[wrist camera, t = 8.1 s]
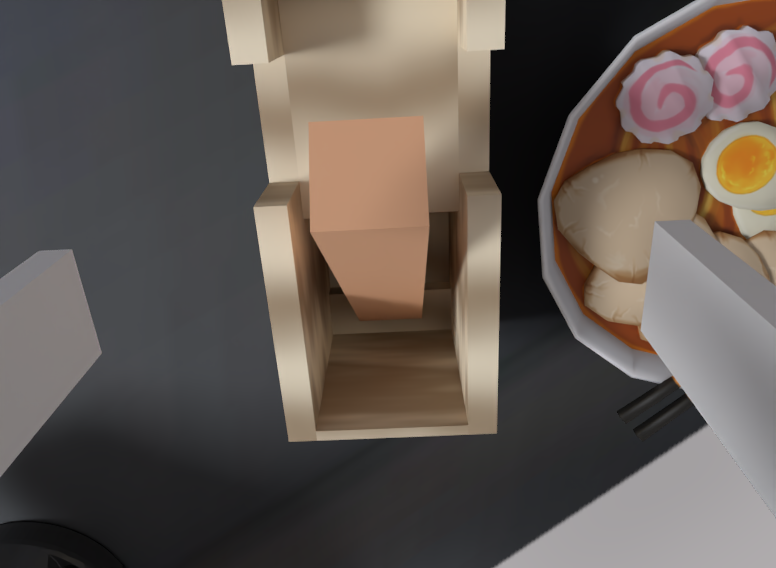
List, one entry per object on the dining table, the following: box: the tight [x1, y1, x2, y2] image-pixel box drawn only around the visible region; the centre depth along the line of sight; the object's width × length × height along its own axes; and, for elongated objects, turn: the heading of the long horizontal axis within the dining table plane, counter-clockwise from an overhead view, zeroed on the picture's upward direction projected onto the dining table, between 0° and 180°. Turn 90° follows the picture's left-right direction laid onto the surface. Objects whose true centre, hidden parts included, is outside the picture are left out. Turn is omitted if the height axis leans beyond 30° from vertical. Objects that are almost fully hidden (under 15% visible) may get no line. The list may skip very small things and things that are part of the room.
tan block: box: [308, 116, 429, 321], centre depth 31 cm, size 20×4×4 cm
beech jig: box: [222, 0, 506, 442], centre depth 34 cm, size 24×11×12 cm, turn 3°
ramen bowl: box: [537, 0, 776, 441], centre depth 36 cm, size 25×23×8 cm
